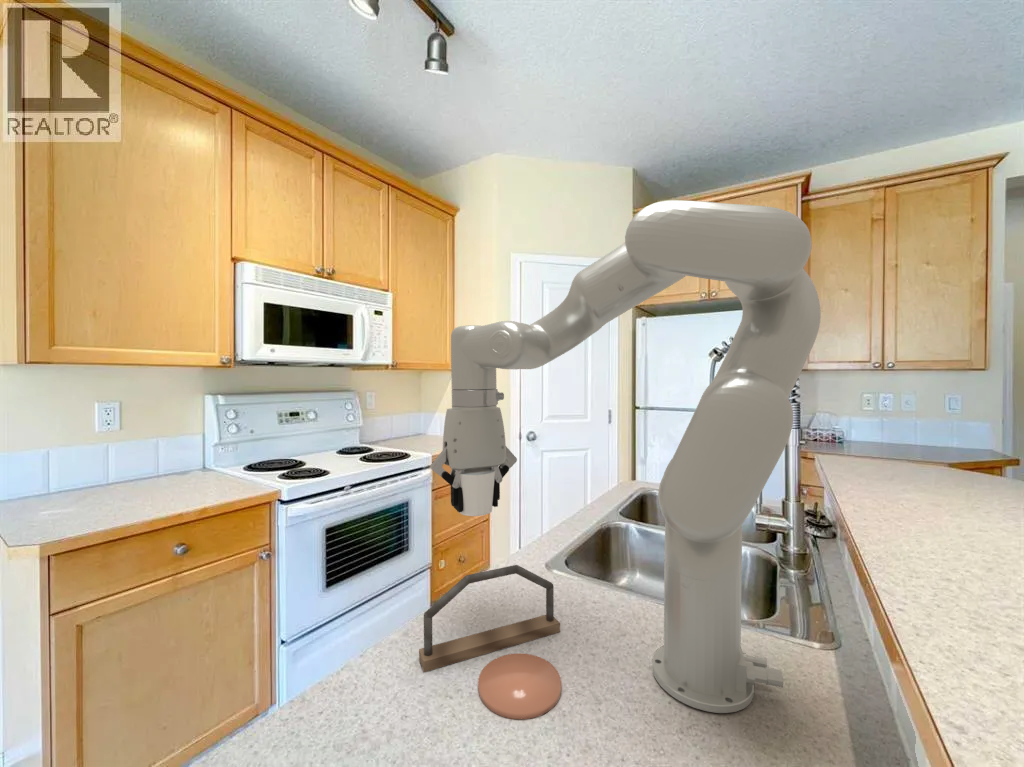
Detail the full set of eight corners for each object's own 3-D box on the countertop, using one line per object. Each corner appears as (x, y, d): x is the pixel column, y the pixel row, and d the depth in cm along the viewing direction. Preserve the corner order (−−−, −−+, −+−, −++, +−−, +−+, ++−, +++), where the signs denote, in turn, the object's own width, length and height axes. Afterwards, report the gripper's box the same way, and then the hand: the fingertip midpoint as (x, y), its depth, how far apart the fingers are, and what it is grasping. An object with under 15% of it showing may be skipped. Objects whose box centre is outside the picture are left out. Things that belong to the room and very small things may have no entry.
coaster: (568, 668, 61) (568, 662, 61) (550, 729, 51) (550, 722, 51) (495, 652, 64) (495, 647, 64) (464, 706, 54) (464, 700, 54)
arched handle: (550, 622, 72) (550, 553, 72) (559, 632, 69) (559, 560, 69) (419, 659, 63) (418, 580, 63) (423, 672, 60) (423, 590, 60)
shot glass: (490, 518, 69) (489, 475, 69) (449, 516, 70) (448, 473, 70) (499, 505, 76) (499, 465, 76) (462, 503, 77) (461, 464, 77)
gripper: (511, 397, 79) (512, 495, 80) (418, 400, 72) (420, 508, 73) (530, 399, 73) (531, 506, 73) (429, 403, 66) (431, 522, 66)
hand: (475, 506), depth 73 cm, fingers closed on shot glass, 5 cm apart
